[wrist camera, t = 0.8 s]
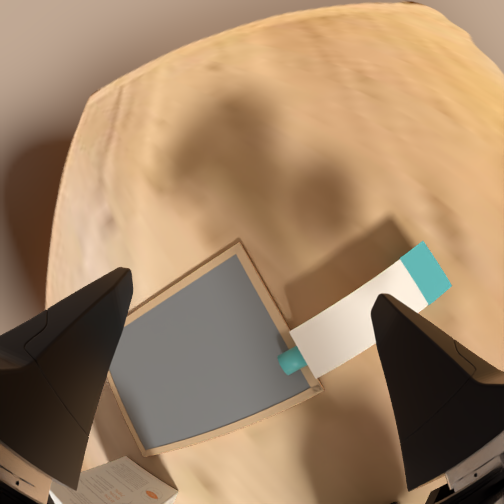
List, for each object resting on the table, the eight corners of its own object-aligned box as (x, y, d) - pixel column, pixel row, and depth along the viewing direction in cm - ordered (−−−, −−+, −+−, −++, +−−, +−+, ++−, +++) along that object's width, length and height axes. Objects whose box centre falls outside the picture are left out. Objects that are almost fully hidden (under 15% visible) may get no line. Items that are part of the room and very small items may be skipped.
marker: (435, 293, 20) (452, 285, 16) (299, 382, 22) (291, 392, 18) (410, 255, 22) (423, 240, 18) (276, 342, 23) (264, 344, 19)
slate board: (324, 389, 21) (324, 390, 20) (147, 455, 23) (143, 457, 22) (241, 244, 27) (239, 241, 26) (98, 339, 29) (94, 339, 28)
